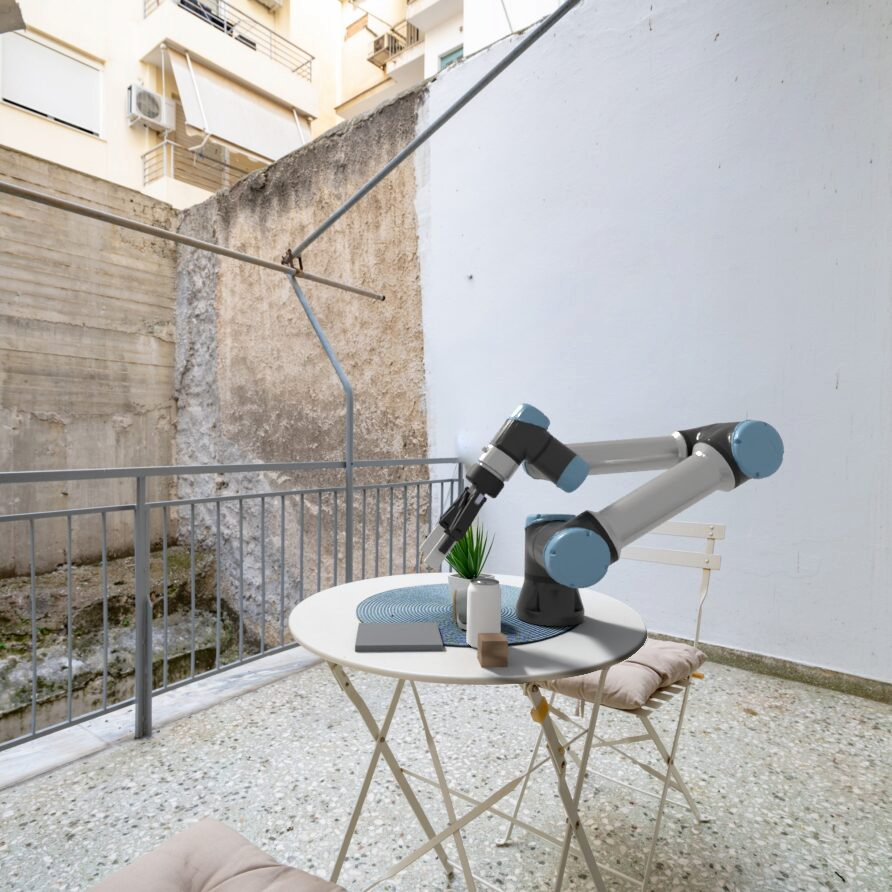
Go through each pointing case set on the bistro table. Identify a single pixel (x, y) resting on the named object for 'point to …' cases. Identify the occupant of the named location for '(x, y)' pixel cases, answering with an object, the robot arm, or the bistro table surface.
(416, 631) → the mat
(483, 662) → the walnut block
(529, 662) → the bistro table surface
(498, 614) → the can
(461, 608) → the ceramic mug
